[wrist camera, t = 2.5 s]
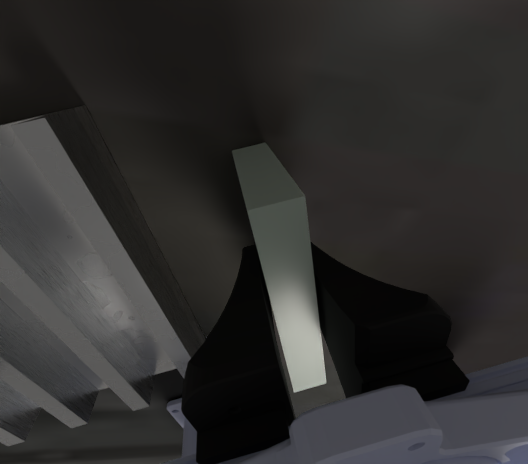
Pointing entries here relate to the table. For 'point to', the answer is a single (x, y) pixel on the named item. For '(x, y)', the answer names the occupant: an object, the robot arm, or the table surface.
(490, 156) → the table surface
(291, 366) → the panel
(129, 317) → the rack
